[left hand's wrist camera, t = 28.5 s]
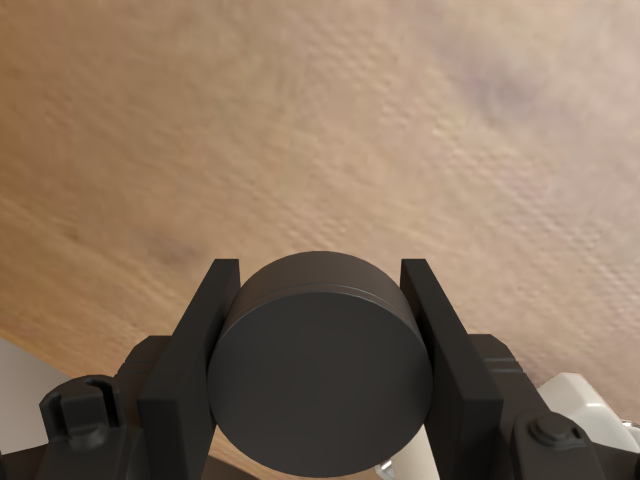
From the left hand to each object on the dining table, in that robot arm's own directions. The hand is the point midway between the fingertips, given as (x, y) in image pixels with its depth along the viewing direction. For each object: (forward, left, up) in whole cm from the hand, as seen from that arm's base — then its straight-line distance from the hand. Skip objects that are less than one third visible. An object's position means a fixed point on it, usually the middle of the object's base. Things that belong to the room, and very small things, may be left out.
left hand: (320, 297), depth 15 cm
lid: (0, 0, +4) cm, 4 cm away
